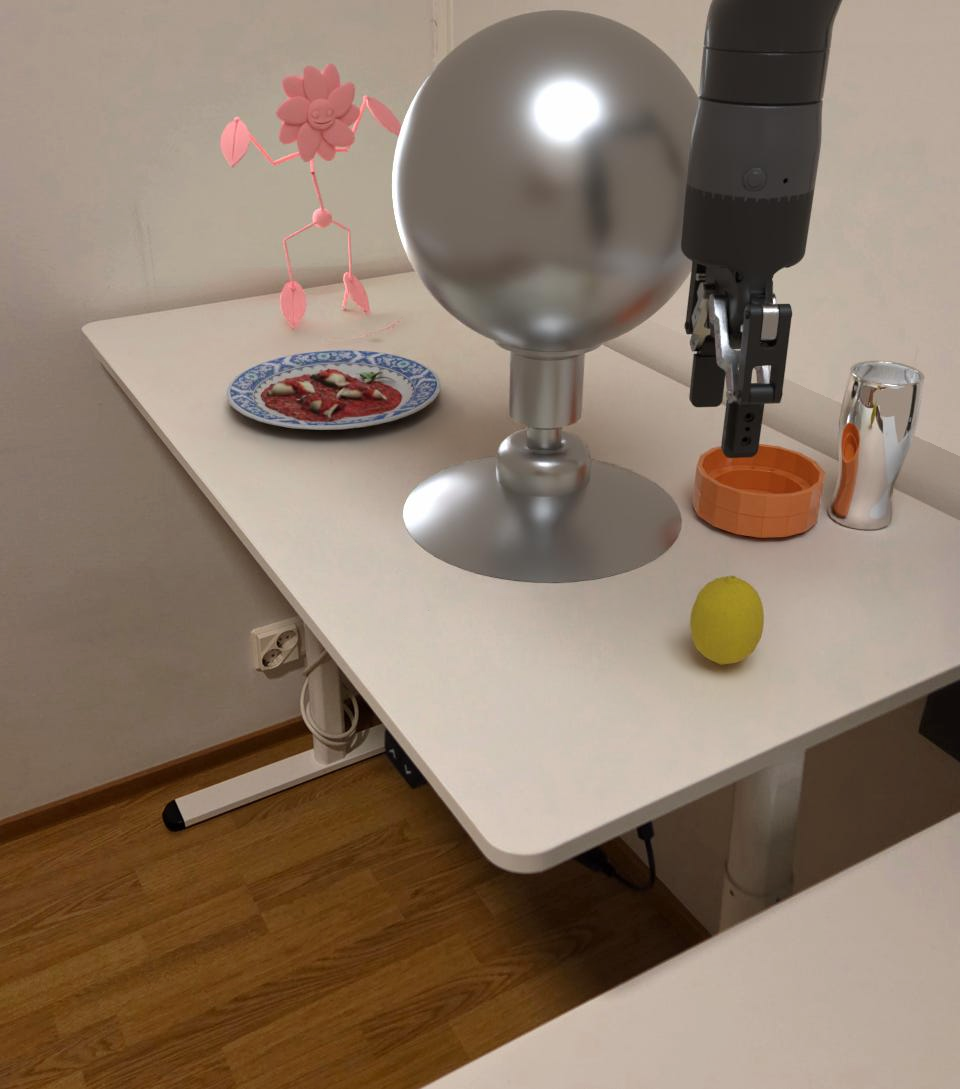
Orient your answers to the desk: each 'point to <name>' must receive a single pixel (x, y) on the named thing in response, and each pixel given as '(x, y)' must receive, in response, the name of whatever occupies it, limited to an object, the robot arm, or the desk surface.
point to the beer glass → (874, 440)
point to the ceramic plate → (333, 389)
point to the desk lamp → (546, 274)
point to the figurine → (313, 154)
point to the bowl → (759, 492)
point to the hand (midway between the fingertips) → (720, 429)
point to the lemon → (727, 620)
